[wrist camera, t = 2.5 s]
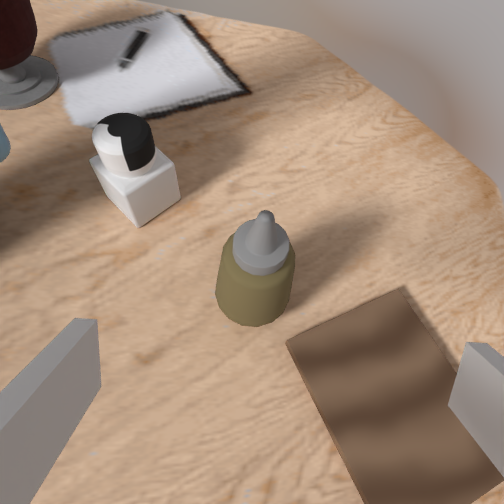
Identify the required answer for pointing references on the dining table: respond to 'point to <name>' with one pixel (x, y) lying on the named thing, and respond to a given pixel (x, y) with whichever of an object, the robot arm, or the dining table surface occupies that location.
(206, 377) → the dining table surface
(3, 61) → the mate gourd
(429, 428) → the walnut board
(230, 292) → the squeeze bottle
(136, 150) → the medicine bottle
